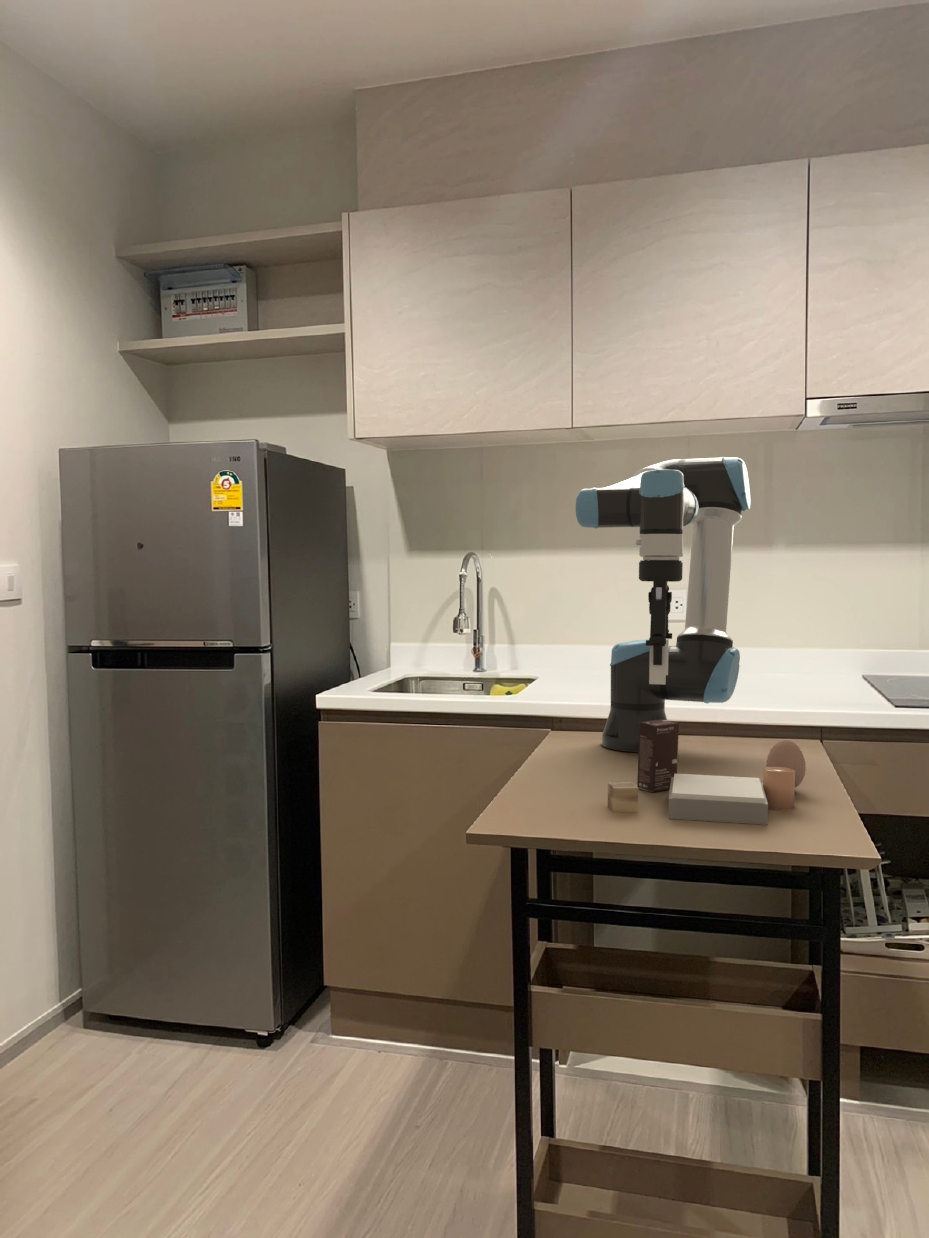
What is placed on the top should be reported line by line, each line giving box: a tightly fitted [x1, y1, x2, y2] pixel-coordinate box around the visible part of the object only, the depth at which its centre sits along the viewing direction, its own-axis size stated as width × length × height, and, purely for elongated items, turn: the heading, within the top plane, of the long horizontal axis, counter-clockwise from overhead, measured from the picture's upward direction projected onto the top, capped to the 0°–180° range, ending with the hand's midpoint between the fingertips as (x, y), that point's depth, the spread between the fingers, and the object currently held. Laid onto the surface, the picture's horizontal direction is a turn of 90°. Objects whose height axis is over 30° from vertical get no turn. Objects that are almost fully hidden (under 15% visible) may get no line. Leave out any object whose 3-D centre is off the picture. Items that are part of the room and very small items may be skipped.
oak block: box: [607, 781, 639, 813], centre depth 158 cm, size 4×4×4 cm
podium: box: [667, 773, 769, 826], centre depth 158 cm, size 15×15×4 cm
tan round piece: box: [762, 766, 796, 811], centre depth 160 cm, size 5×5×6 cm
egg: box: [765, 738, 807, 789], centre depth 170 cm, size 7×7×9 cm
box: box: [636, 719, 680, 793], centre depth 171 cm, size 6×4×12 cm
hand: (659, 679), depth 170 cm, fingers open, 13 cm apart
